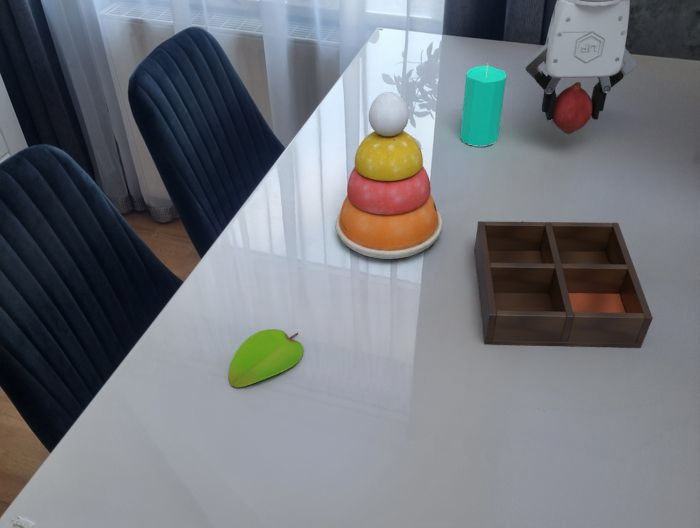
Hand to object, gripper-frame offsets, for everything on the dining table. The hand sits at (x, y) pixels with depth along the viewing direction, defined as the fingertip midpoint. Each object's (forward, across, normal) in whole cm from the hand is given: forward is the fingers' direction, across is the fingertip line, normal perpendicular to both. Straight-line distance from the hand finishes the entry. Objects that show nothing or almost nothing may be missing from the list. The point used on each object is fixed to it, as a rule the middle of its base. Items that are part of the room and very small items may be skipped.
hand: (570, 114), depth 101 cm
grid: (+7, -7, -34) cm, 35 cm away
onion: (+3, 0, 0) cm, 3 cm away
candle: (+6, -13, +4) cm, 15 cm away
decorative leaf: (+6, -40, -46) cm, 61 cm away
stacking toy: (+6, -27, -22) cm, 35 cm away
